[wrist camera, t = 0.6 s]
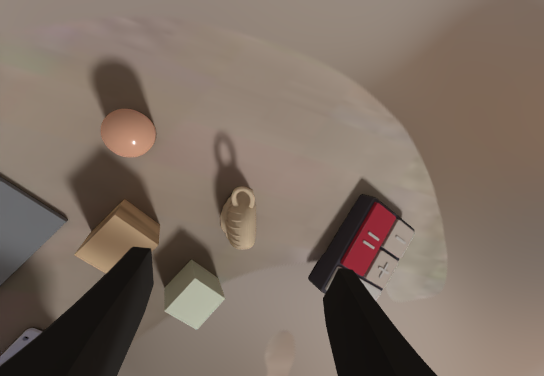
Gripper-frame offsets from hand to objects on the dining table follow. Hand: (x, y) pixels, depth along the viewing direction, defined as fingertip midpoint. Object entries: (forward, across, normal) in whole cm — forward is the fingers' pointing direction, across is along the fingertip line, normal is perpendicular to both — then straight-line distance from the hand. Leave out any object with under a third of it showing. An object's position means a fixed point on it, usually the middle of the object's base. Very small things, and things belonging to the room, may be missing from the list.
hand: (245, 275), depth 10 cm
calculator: (+22, -19, +19) cm, 35 cm away
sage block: (+14, +4, +20) cm, 24 cm away
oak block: (+15, +11, +13) cm, 22 cm away
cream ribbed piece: (+19, 0, +12) cm, 22 cm away
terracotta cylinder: (+19, +11, +4) cm, 22 cm away
